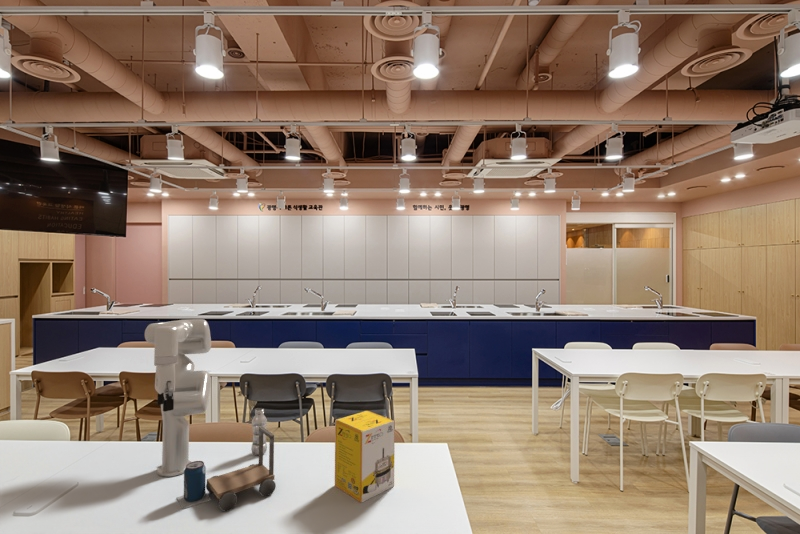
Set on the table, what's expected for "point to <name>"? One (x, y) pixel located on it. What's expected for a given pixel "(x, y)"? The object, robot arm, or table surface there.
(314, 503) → the table surface
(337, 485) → the packaging box
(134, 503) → the table surface
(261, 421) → the plastic bottle
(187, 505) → the mat
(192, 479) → the soda can
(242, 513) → the table surface
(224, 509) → the trolley
